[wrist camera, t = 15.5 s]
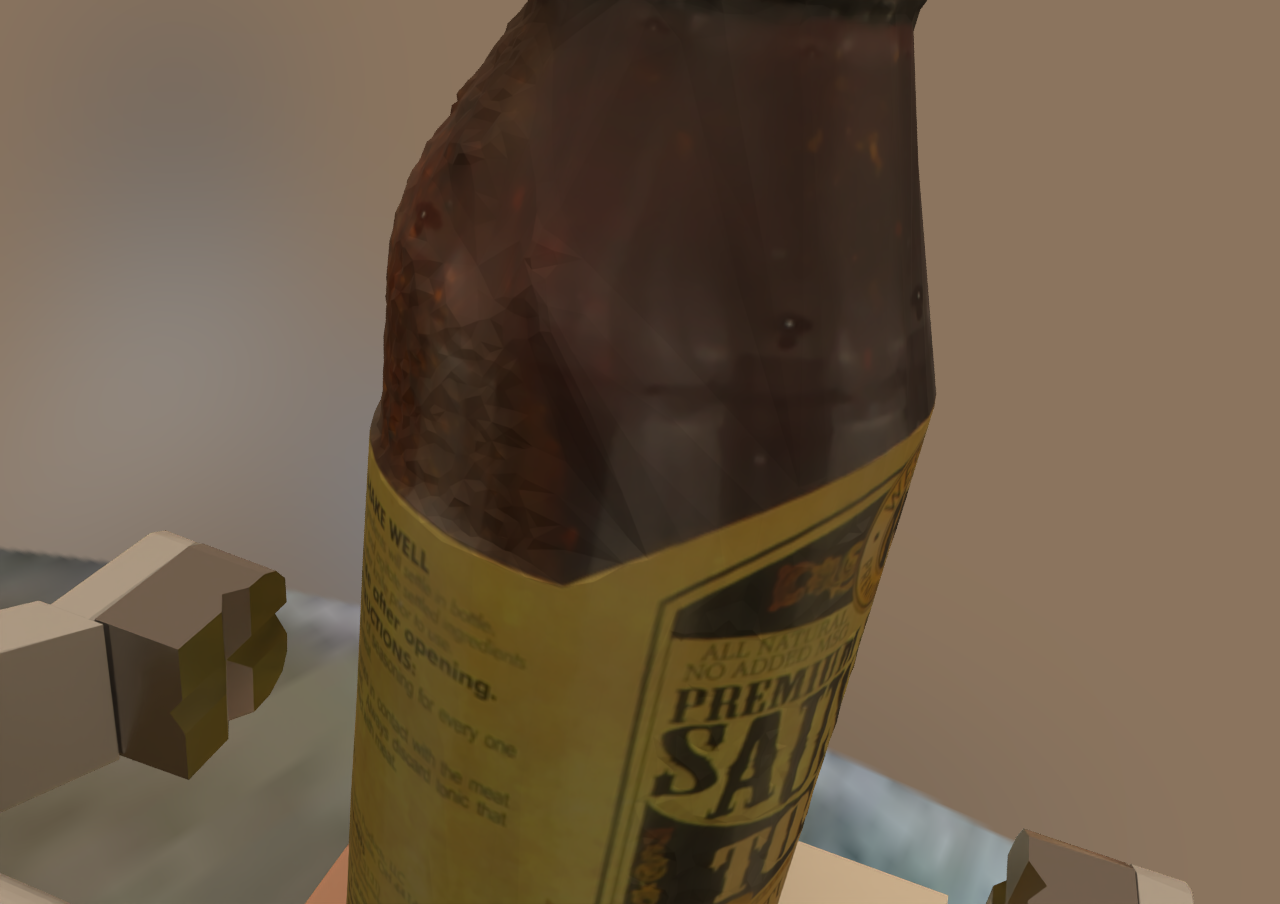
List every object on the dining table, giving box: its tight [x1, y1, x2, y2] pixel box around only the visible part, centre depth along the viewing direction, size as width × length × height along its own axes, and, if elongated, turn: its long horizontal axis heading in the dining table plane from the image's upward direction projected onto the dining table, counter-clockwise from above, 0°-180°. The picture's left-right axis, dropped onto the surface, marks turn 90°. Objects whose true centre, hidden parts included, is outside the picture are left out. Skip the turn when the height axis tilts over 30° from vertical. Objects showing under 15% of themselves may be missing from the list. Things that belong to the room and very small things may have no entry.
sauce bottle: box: [346, 0, 936, 904], centre depth 13 cm, size 6×6×20 cm
